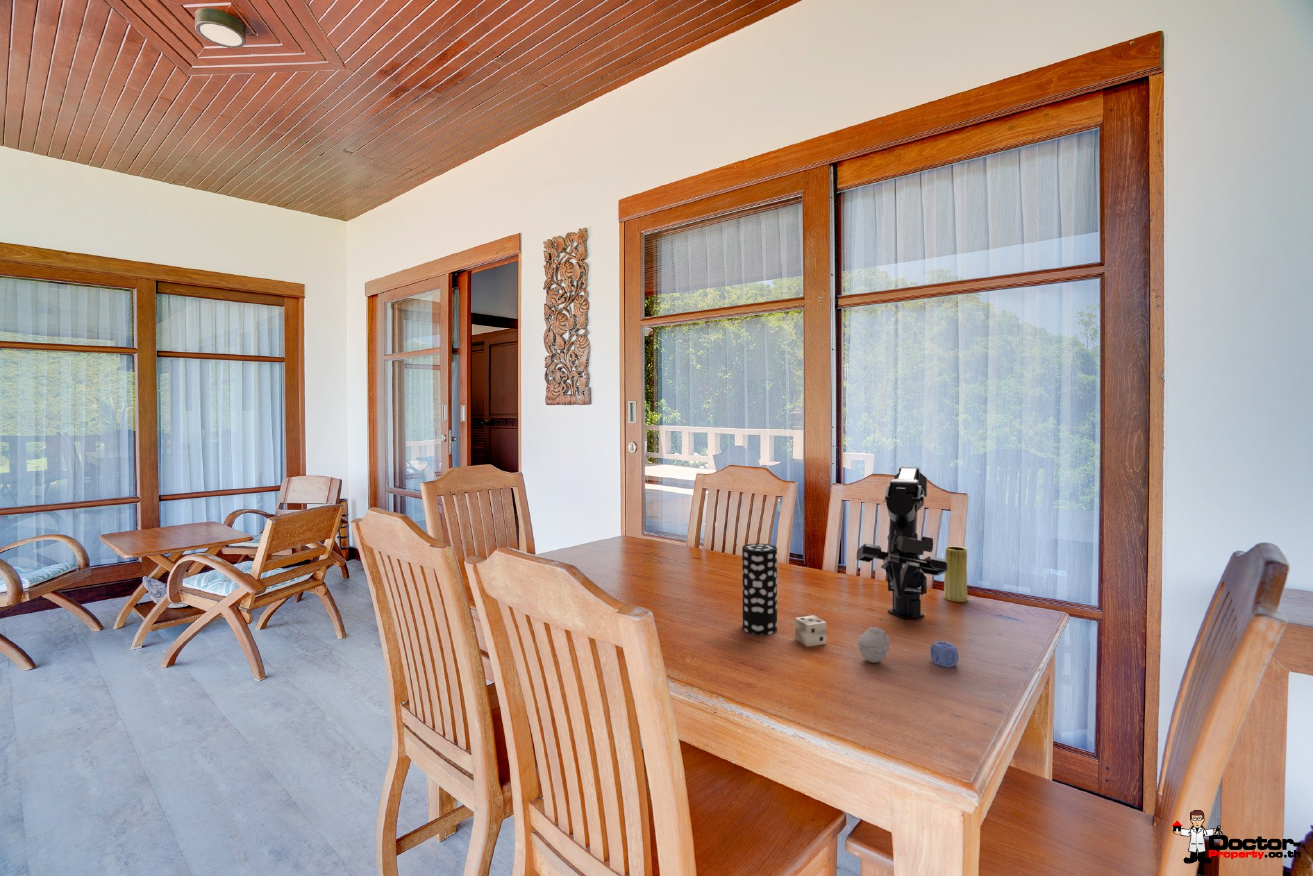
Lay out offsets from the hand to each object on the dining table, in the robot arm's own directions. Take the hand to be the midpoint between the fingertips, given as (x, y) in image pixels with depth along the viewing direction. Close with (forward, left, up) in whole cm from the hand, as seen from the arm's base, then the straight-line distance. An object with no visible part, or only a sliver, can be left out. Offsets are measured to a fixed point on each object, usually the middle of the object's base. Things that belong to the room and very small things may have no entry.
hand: (899, 597), depth 131 cm
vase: (-20, +38, -11) cm, 45 cm away
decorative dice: (+11, +2, -11) cm, 16 cm away
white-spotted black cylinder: (-20, -24, -11) cm, 33 cm away
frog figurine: (+5, -11, -11) cm, 16 cm away
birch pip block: (-9, -17, -11) cm, 22 cm away
